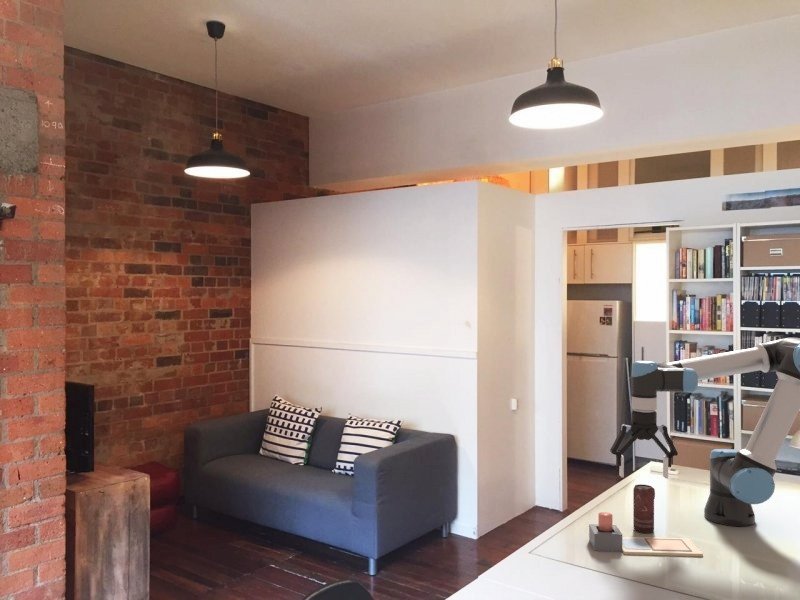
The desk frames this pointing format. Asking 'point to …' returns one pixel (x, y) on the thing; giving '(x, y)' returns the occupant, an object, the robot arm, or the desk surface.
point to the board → (659, 546)
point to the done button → (605, 521)
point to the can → (643, 508)
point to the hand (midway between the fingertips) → (643, 476)
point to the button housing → (605, 539)
